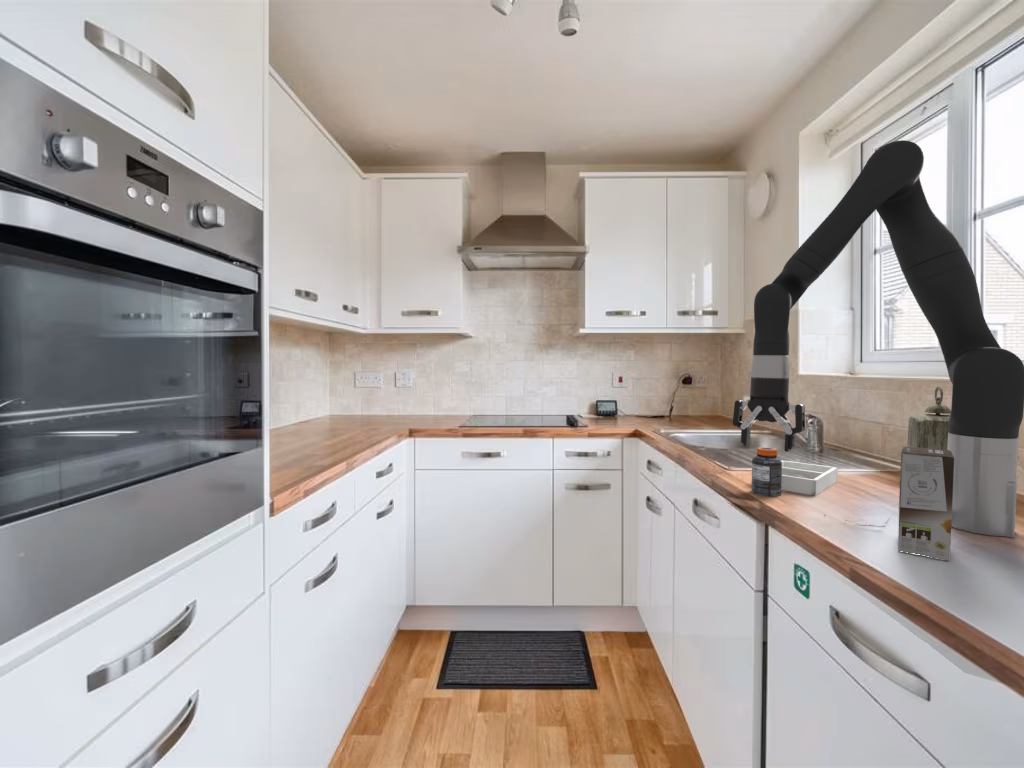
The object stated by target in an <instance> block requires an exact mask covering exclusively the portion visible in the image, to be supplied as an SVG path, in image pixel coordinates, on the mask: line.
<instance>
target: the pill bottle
mask: <svg viewBox="0 0 1024 768" xmlns="http://www.w3.org/2000/svg"><path fill="white" fill-rule="evenodd" d="M756 449H757V451H756V455H755V456H754V457H753V458H752V460H751V493H752V494H754V495H756V496H757V495H758V496H761V497H763V496H764V497H771V498H773V497H775V498H776V497H781V496H782V490H781V485H782V483H781V482H782V460H781V459H780V458H778V448H775V447H767V446H766V447H765V446H764V447H763V446H760V447H757V448H756Z"/></svg>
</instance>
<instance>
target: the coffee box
mask: <svg viewBox="0 0 1024 768" xmlns="http://www.w3.org/2000/svg"><path fill="white" fill-rule="evenodd" d="M900 453H901V454H900V456H901V457H900V469H899V470H900V473H899V474H900V475H899V493H898V495H899V496H898V497H899V500H898V501H899V502H898V533H897V534H898V535H897V536H898V537H897V539H898V541H897V542H898V543H897V552H899V551H903V552H908V553H915V554H920V555H925V556H929V557H932V558H931V559H933V558H938V559H943V560H949V561H950V559H951V558H950V556H951V540H952V538H951V537H952V526H951V522H952V502H953V478H954V456H953V454H952V452H951V451H950V450H942V449H931V448H915V447H908V446H902V448H901V452H900ZM903 552H902V553H903ZM908 553H907V554H908ZM938 559H937V560H938ZM943 560H942V561H943Z"/></svg>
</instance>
